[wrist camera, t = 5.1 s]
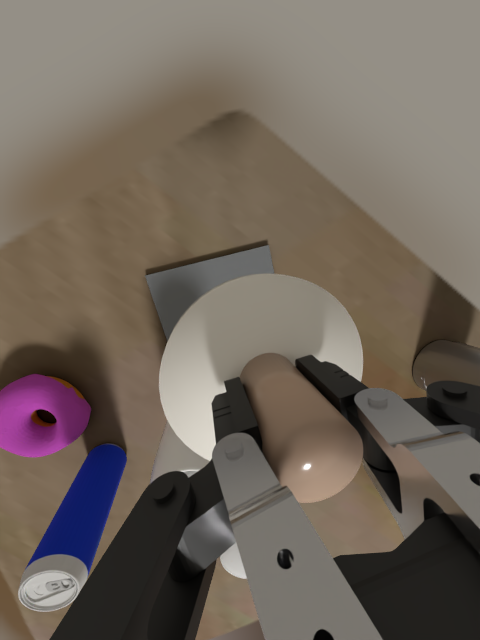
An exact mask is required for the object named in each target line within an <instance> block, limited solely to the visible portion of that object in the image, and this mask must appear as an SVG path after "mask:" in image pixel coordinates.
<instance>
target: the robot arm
mask: <svg viewBox="0 0 480 640" xmlns="http://www.w3.org/2000/svg"><path fill="white" fill-rule="evenodd" d="M295 366H296V368H297V369H298V370H299V371H300V372H301V373H302V374H303V375H304V376H305V377H306V378H307V379H308V380H309V381H310V382H311V383H312V384H313V385H314V386H315V387H316V388H317V390H318V391H319V392H320V393H321V394H322V395H323V396H324V397H325V398H326V399H327V400H328V401H329V402H330V403H331V404H332V405H333V406H334V407H335V408H336V409H337V410H338V411H339V412H340V413H341V414H342V415H343V416H344V418H345V419H346V420H347V421H348V422H349V423H350V424H351V425H352V426H353V427H354V428H355V429H356V430H357V431H358V433H359V435H360V437H361V439H362V443H363V458H362V460H363V466H364V469H365V471H366V472H367V474H368V476H369V477H370V479H371V480H372V482H373V484H374V485H375V487H376V489H377V490H378V492H379V493H380V495H381V497H382V498H383V500H384V502H385V503H386V505H387V507H388V508H389V510H390V511H391V513H392V515H393V516H394V518H395V520H396V521H397V523H398V525H399V527H400V529H401V531H402V534H403V537H404V541H403V542H402V543H401V544H400V545H399V546H398V547H397V548H396V549H395V550H393V551H391V552H383V553H368V554H353V555H340V556H337V557H335V558H332V556H331V555H330V553H329V551H328V550H327V548H326V547H325V545H324V543H323V542H322V540H321V538H320V537H319V535H318V534H317V532H316V530H315V529H314V527H313V525H312V524H311V522H310V521H309V519H308V517H307V516H306V514H305V513H304V511H303V509H302V508H301V506H300V504H299V503H298V501H297V500H296V498H295V496H294V495H293V493H292V492H291V490H290V489H289V488H288V487H287V486H286V485H285V486H283V487H282V486H281V484H280V483H279V481H278V479H277V478H276V476H275V474H274V473H273V471H272V469H271V467H270V466H269V464H268V462H267V461H266V459H265V457H264V455H263V451H262V443H263V442H262V439H261V435H260V431H259V427H258V424H257V421H256V419H255V416H254V414H253V411H252V408H251V406H250V403H249V401H248V398H247V395H246V393H245V390H244V388H243V385H242V382H241V380H240V377H236V378H233V379H229V380H226V381H224V384H225V388H226V392H225V393H222V394H218V395H215V397H214V399H213V401H212V403H211V404H212V412H213V422H214V431H215V440H216V445H215V447H214V449H213V452H212V459H211V460H210V462H209V463H208V464H207V465H206V466H205V467H204V468H202V469H201V470H199V471H198V472H196V473H195V474H193V475H192V476H190V477H188V476H187V475H186V474H185V473H184V472H181V471H171V472H168V473H165V474H163V475H161V476H159V477H158V478H156V479H155V480H154V481H153V482H152V483H151V484H150V485H149V486H148V487H147V488H146V489H145V491H144V492H143V494H142V495H141V497H140V499H139V500H138V502H137V503H136V505H135V506H134V508H133V510H132V511H131V513H130V514H129V516H128V517H127V519H126V521H125V522H124V524H123V525H122V527H121V528H120V530H119V532H118V533H117V535H116V536H115V538H114V539H113V541H112V542H111V544H110V546H109V547H108V549H107V550H106V552H105V553H104V555H103V557H102V558H101V560H100V561H99V563H98V564H97V566H96V568H95V569H94V571H93V572H92V574H91V575H90V577H89V579H88V580H87V582H86V583H85V585H84V586H83V588H82V590H81V591H80V593H79V594H78V596H77V597H76V599H75V601H74V602H73V604H72V605H71V607H70V608H69V610H68V612H67V613H66V615H65V616H64V618H63V619H62V621H61V622H60V624H59V626H58V627H57V629H56V630H55V632H54V633H53V635H52V637H51V638H50V640H195V638H196V634H197V631H198V627H199V624H200V620H201V616H202V613H203V609H204V605H205V602H206V598H207V595H208V591H209V587H210V584H211V580H212V577H213V573H214V569H215V565H216V559H217V558H218V557H219V556H221V555H222V554H223V553H224V552H225V551H226V550H228V549H229V548H230V547H231V546H232V545H233V544H235V543H237V546H238V550H239V553H240V557H241V560H242V563H243V567H244V570H245V574H246V577H247V580H248V584H249V587H250V591H251V594H252V597H253V601H254V604H255V608H256V611H257V614H258V618H259V621H260V624H261V628H262V631H263V634H264V638H265V640H480V348H477V347H474V346H470V345H467V344H464V343H460V342H456V343H454V342H451V341H448V340H437V341H434V342H432V343H430V344H428V345H427V346H426V347H424V348H423V349H422V351H421V352H420V353H419V354H418V356H417V358H416V360H415V362H414V366H413V378H414V381H415V383H416V384H417V385H418V386H419V387H420V388H422V389H424V390H425V391H426V392H427V397H421V398H411V399H402V398H401V397H400V396H398V395H397V394H396V393H394V392H392V391H389V390H386V389H380V388H368V387H367V386H365V385H364V384H363V383H361V382H360V381H358V380H357V379H356V378H354V377H353V376H351V375H349V373H347V372H346V371H343V369H342V368H340V367H339V366H337V365H336V364H333V363H330V362H327V361H324V362H320V361H319V360H318V359H316V358H315V357H314V356H313V355H307V356H304V357H301V358H298V359H296V360H295Z"/></svg>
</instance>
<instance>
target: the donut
mask: <svg viewBox="0 0 480 640" xmlns="http://www.w3.org/2000/svg"><path fill="white" fill-rule="evenodd" d="M38 409H43V410H46V411H49V412H50V413H52V414H53V415H54V416H55V418H56V420H57V422H56V423H52V424H51V423H46V422H44V421H42V420H41V419H40V418H39V417H38V415H37V410H38ZM90 413H91V407H90V405H89V404H88V403H87V401H86V400H85V399H84V397H83V396H82V394H81V393H80V392H79V391H78V390H77V389H76V388H75V387H73V386H72V385H71V384H69V383H68V382H66V381H64V380H62V379H59V378H56V377H51V376H44V375H39V374H31V375H28V376H25V377H22V378H20V379H18V380H16V381H14V382H12V383H10V384H8V385H7V386H6V387H4V388H3V389H2V390H1V391H0V447H1V448H3V449H5V450H7V451H9V452H11V453H14V454H17V455H21V456H26V457H41V456H45V455H49V454H52V453H54V452H56V451H58V450H60V449H62V448H64V447H66V446H67V445H69V444H70V443H72V442H73V441H74V440H76V439H77V438H78V437H79V436H80V435H81V434H82V433H83V431H84V430H85V429H86V427H87V425H88V422H89V417H90Z"/></svg>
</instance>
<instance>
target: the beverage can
mask: <svg viewBox="0 0 480 640" xmlns="http://www.w3.org/2000/svg"><path fill="white" fill-rule="evenodd" d="M126 461H127V457H126V454H125V452H124V451H123V449H122V448H121V447H119V446H118V445H115V444H110V443H109V444H103V445H99V446H97V447H95V448H94V449H92V450H91V451H90V453H89V454H88V456H87V458H86V460H85V461H84V463H83V465H82V467H81V469H80V470H79V472H78V474H77V476H76V478H75V480H74V481H73V483H72V485H71V487H70V489H69V491H68V492H67V494H66V496H65V498H64V500H63V501H62V503H61V505H60V507H59V509H58V511H57V512H56V514H55V516H54V518H53V520H52V522H51V523H50V525H49V527H48V529H47V531H46V532H45V534H44V536H43V538H42V540H41V542H40V543H39V545H38V547H37V549H36V551H35V553H34V554H33V556H32V558H31V560H30V562H29V563H28V565H27V567H26V569H25V571H24V573H23V575H22V579H21V583H20V587H19V592H18V596H19V599H20V601H21V603H22V604H23V605H24V606H26V607H27V608H29V609H32V610H35V611H42V612H46V611H54V610H58V609H61V608H63V607H65V606H67V605H68V604H70V603H71V602H72V601H73V600H74V599H75V598H76V597H77V595H78V593H79V592H80V590H81V588H82V587H83V585H84V584H85V582H86V580H87V577H88V574H89V571H90V568H91V565H92V562H93V559H94V557H95V554H96V551H97V548H98V545H99V542H100V539H101V536H102V533H103V530H104V527H105V524H106V521H107V518H108V515H109V512H110V509H111V506H112V503H113V500H114V497H115V494H116V491H117V488H118V485H119V482H120V479H121V476H122V473H123V470H124V467H125V465H126Z"/></svg>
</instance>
